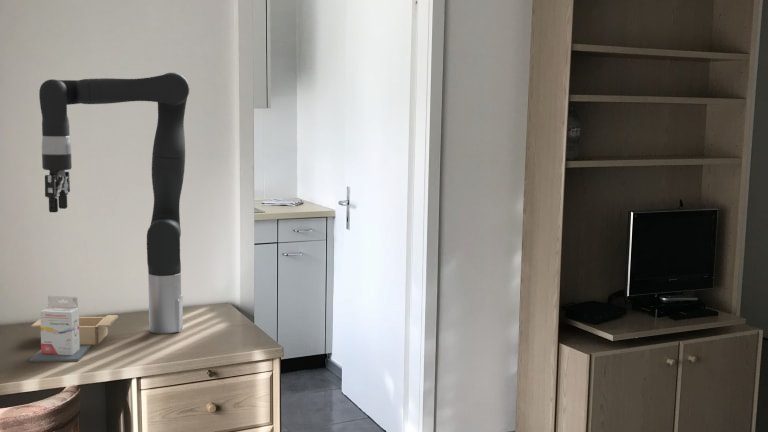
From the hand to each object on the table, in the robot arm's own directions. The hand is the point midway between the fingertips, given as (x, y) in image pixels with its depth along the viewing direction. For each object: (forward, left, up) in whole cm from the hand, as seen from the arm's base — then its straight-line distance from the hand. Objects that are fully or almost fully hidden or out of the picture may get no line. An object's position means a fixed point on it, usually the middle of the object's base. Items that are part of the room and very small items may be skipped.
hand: (58, 210), depth 221 cm
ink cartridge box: (-5, +18, -36) cm, 40 cm away
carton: (-5, +4, -36) cm, 37 cm away
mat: (-5, +18, -36) cm, 41 cm away
